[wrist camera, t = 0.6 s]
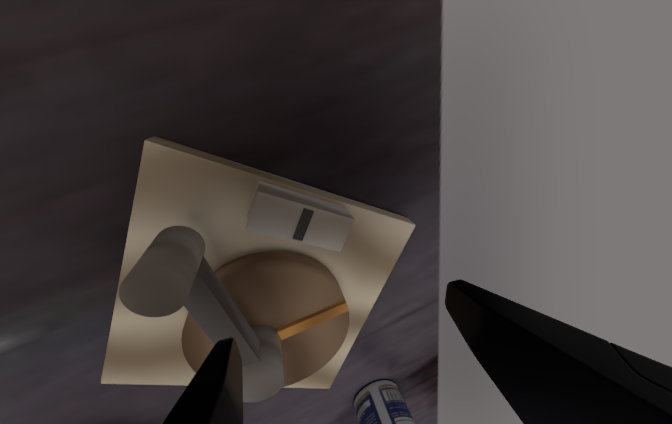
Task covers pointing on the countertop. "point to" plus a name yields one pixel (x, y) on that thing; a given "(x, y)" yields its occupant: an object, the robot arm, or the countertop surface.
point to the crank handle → (243, 307)
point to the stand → (243, 248)
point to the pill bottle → (382, 404)
